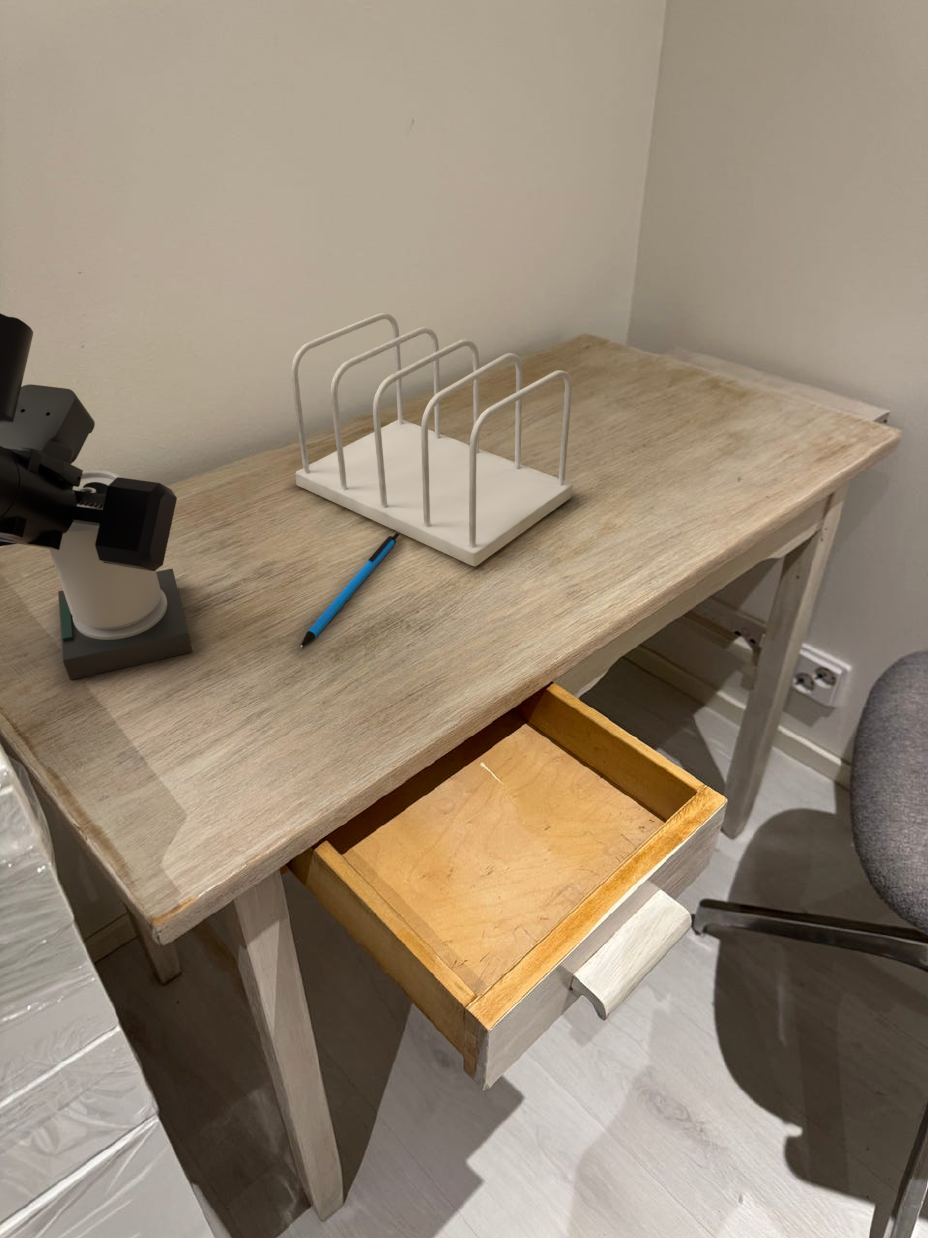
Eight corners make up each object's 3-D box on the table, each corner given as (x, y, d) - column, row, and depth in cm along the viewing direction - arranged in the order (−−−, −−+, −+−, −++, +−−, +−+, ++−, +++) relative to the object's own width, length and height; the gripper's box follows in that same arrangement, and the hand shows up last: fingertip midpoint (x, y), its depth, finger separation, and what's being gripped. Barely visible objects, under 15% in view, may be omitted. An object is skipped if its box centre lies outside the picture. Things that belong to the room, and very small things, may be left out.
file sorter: (572, 499, 97) (586, 361, 87) (474, 572, 86) (477, 424, 76) (400, 430, 109) (395, 303, 99) (295, 487, 98) (278, 350, 88)
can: (180, 606, 77) (152, 485, 70) (102, 648, 73) (63, 523, 65) (132, 572, 81) (101, 454, 74) (55, 609, 77) (13, 488, 69)
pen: (401, 539, 91) (401, 529, 90) (305, 652, 77) (304, 642, 76) (393, 536, 91) (393, 527, 90) (296, 649, 77) (295, 639, 77)
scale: (69, 680, 74) (61, 656, 72) (64, 610, 81) (56, 587, 79) (192, 652, 77) (187, 628, 75) (177, 586, 84) (171, 564, 82)
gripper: (134, 382, 58) (233, 455, 73) (-113, 353, 61) (31, 429, 76) (98, 549, 57) (205, 588, 72) (-152, 510, 60) (2, 555, 75)
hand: (109, 535), depth 74 cm, fingers closed on can, 7 cm apart
